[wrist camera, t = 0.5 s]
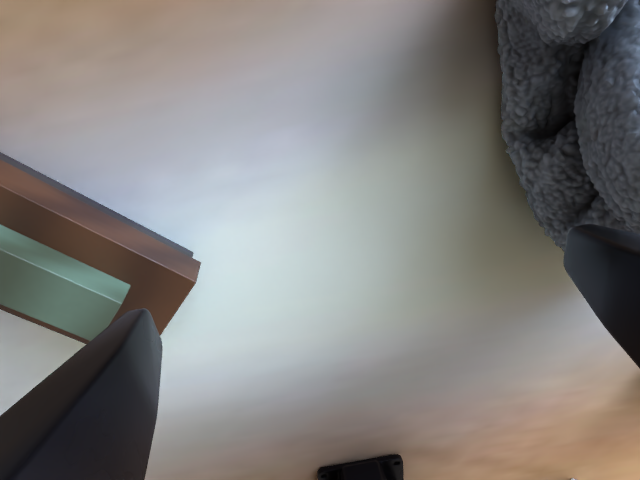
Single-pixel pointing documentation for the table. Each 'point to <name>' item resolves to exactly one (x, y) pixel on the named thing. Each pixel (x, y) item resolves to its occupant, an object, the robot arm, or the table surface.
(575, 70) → the koala plush
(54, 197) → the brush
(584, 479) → the table surface
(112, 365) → the robot arm
